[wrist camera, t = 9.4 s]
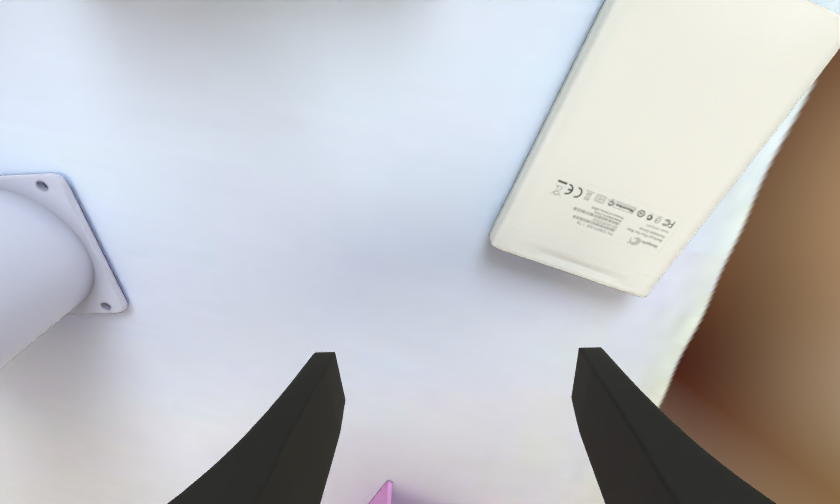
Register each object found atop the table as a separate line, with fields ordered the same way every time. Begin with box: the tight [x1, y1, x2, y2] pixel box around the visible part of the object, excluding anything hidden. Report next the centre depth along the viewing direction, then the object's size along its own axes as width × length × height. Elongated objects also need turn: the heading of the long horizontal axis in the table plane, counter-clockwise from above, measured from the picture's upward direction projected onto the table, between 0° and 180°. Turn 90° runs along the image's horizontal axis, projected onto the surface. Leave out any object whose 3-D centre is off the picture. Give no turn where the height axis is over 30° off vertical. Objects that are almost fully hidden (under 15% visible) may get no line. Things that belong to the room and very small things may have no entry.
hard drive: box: [489, 0, 840, 297], centre depth 18 cm, size 2×8×12 cm
